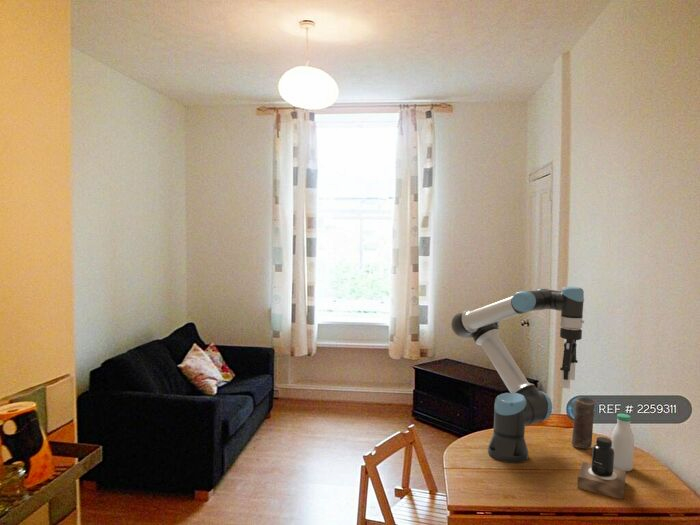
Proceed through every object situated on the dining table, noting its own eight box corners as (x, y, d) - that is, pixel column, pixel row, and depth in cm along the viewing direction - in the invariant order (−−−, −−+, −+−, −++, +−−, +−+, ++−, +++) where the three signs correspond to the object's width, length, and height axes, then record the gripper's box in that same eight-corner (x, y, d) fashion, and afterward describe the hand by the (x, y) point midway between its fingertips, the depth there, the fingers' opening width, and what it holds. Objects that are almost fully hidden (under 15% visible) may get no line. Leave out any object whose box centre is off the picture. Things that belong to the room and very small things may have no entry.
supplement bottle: (592, 475, 181) (594, 441, 180) (590, 467, 187) (592, 434, 186) (614, 479, 178) (616, 444, 178) (611, 470, 185) (613, 437, 184)
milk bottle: (635, 472, 193) (638, 419, 192) (612, 470, 195) (616, 417, 193) (628, 464, 201) (631, 412, 199) (607, 461, 202) (610, 410, 201)
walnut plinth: (577, 487, 180) (578, 475, 180) (582, 472, 192) (582, 460, 192) (623, 499, 173) (623, 486, 173) (625, 482, 185) (625, 470, 185)
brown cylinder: (593, 446, 217) (595, 399, 215) (590, 452, 210) (593, 403, 209) (573, 442, 221) (576, 395, 219) (570, 447, 214) (572, 399, 213)
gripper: (577, 334, 185) (574, 393, 186) (585, 324, 206) (582, 377, 207) (555, 331, 188) (552, 389, 190) (565, 322, 210) (562, 374, 211)
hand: (568, 383), depth 198 cm, fingers open, 13 cm apart
